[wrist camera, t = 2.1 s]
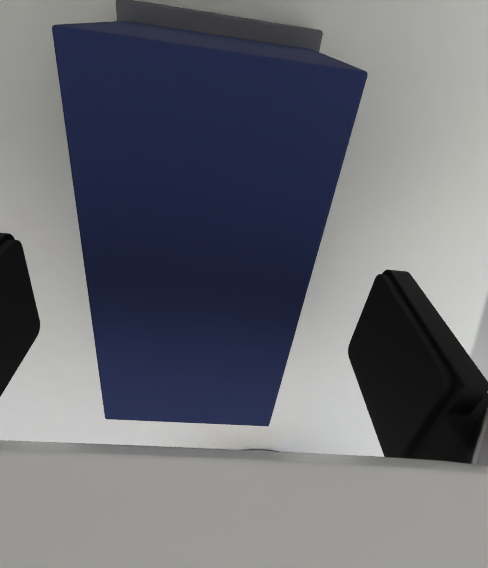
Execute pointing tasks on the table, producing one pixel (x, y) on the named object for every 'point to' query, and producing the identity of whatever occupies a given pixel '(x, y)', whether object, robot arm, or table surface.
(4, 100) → the table surface
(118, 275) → the blue stepped block
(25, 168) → the table surface
